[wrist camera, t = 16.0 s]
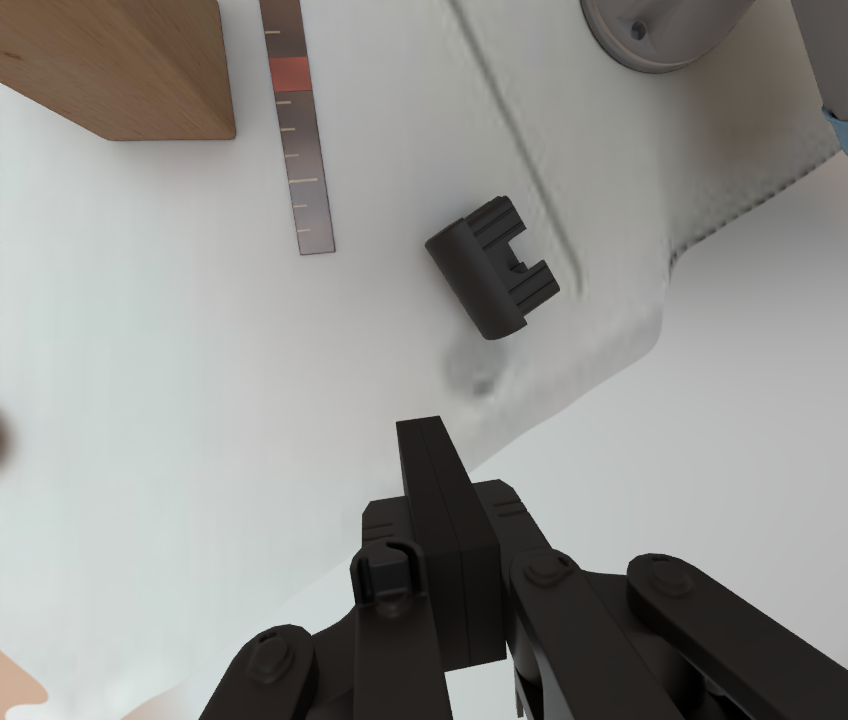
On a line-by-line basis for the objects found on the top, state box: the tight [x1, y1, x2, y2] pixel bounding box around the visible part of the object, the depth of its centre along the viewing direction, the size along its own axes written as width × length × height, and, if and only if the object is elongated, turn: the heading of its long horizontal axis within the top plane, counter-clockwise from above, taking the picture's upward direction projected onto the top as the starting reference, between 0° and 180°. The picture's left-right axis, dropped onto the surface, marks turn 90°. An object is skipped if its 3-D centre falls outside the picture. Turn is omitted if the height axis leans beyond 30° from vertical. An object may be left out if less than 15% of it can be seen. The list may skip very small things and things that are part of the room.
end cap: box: [425, 196, 560, 340], centre depth 36 cm, size 10×7×7 cm
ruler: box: [259, 0, 335, 255], centre depth 34 cm, size 20×3×1 cm, turn 6°
